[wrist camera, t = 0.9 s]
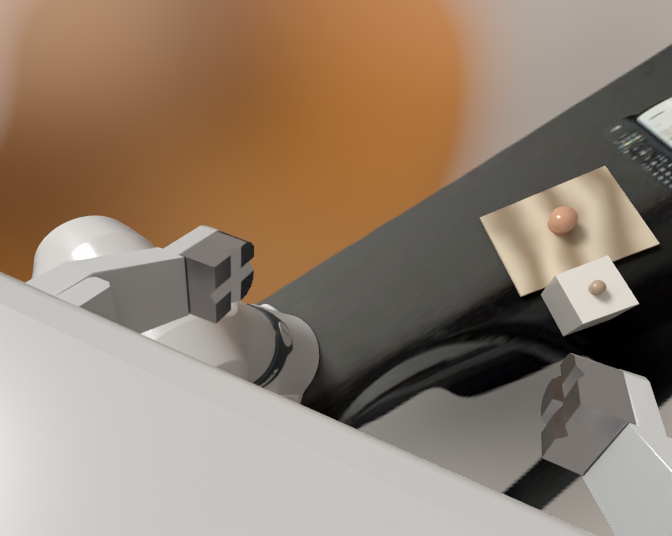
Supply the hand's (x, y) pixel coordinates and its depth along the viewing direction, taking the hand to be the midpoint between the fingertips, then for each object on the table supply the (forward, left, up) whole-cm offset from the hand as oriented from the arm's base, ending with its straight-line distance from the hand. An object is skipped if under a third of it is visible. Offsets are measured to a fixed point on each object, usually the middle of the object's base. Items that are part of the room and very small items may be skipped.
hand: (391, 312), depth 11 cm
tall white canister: (+21, +5, -55) cm, 59 cm away
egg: (+25, +17, -55) cm, 63 cm away
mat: (+25, +16, -55) cm, 63 cm away
